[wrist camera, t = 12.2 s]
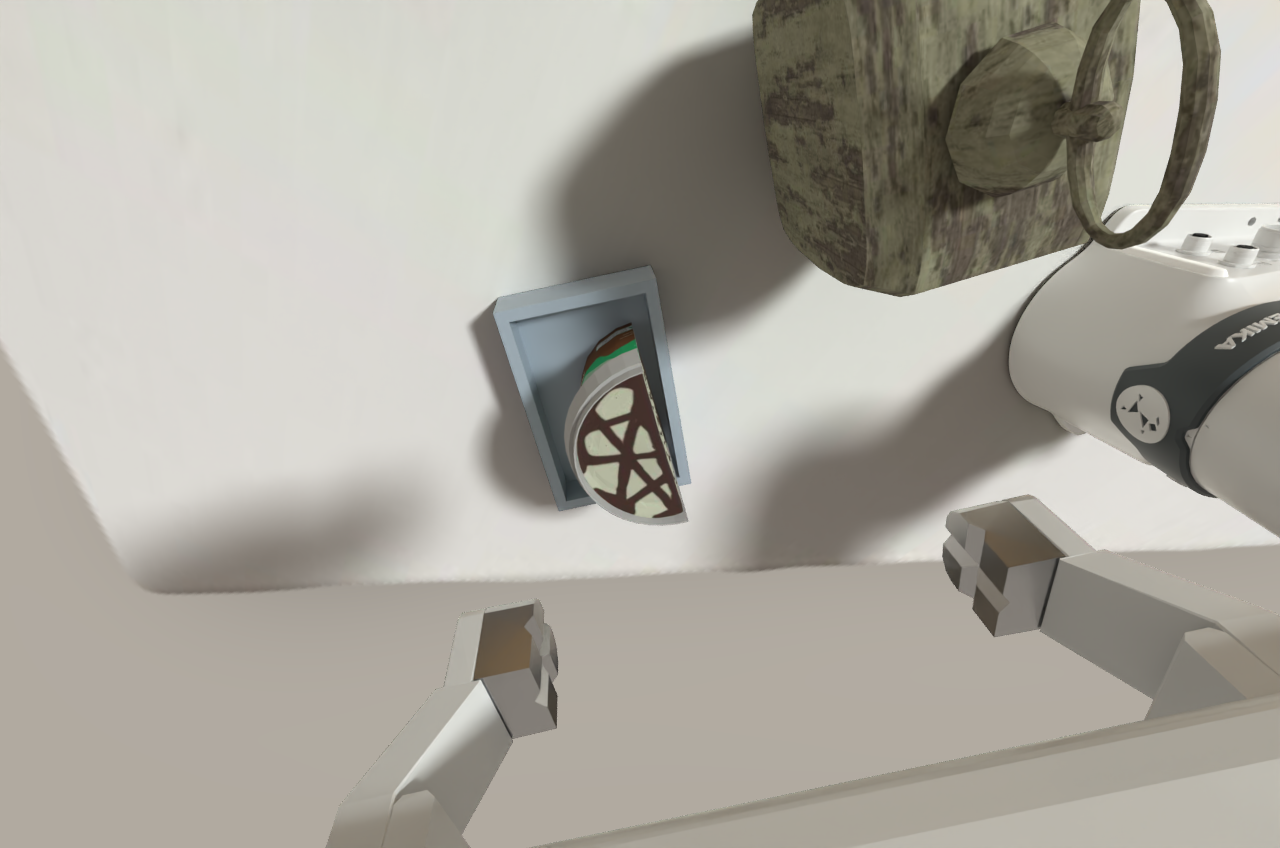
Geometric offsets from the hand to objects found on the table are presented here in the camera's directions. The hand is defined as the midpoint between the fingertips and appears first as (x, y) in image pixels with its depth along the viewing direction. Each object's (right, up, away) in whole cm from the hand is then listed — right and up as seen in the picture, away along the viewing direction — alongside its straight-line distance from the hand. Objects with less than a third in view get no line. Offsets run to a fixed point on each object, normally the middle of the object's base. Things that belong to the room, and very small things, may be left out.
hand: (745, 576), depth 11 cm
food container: (-4, +6, +32) cm, 33 cm away
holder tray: (-5, +6, +32) cm, 33 cm away
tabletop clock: (+9, +23, +24) cm, 34 cm away
